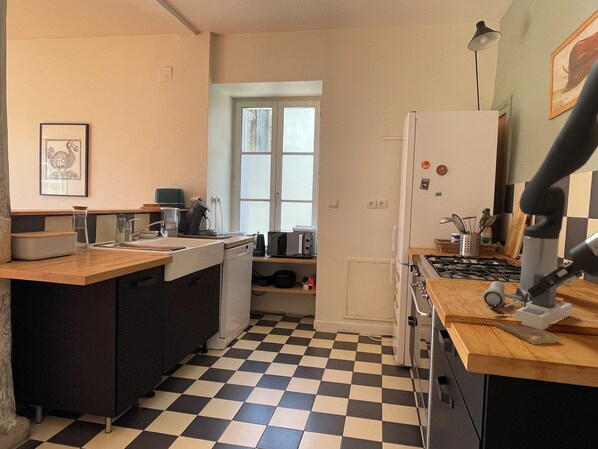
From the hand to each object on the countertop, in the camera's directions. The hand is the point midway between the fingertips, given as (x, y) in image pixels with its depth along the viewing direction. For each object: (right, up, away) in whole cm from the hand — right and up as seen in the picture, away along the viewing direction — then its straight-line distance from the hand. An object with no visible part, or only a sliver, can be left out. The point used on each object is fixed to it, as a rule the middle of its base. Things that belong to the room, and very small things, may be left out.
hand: (537, 291), depth 87 cm
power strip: (+3, -6, +1) cm, 7 cm away
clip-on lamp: (-3, -6, +7) cm, 10 cm away
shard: (-10, -8, -11) cm, 17 cm away
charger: (+1, -4, -1) cm, 4 cm away
